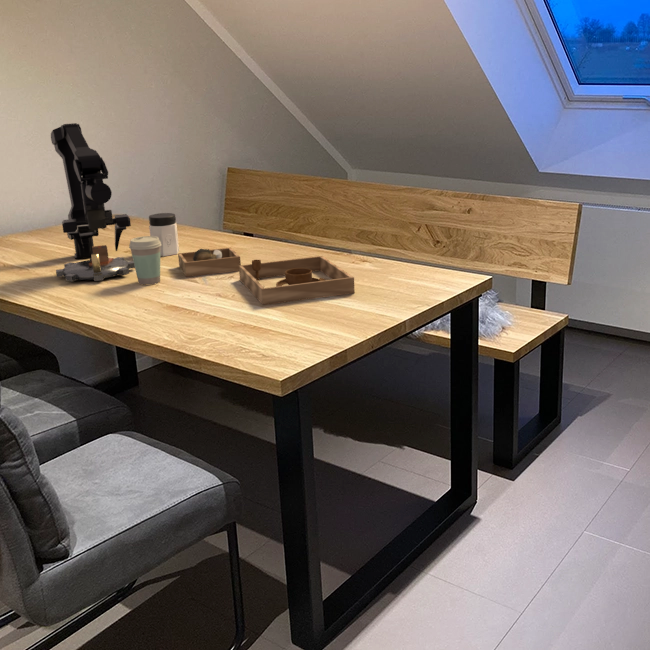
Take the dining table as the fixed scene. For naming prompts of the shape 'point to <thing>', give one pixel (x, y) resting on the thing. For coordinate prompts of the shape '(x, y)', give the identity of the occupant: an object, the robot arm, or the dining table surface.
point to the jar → (165, 232)
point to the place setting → (289, 275)
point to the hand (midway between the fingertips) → (100, 252)
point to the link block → (101, 252)
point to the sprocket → (95, 269)
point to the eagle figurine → (206, 255)
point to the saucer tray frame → (296, 292)
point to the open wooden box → (209, 263)
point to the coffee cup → (146, 258)
